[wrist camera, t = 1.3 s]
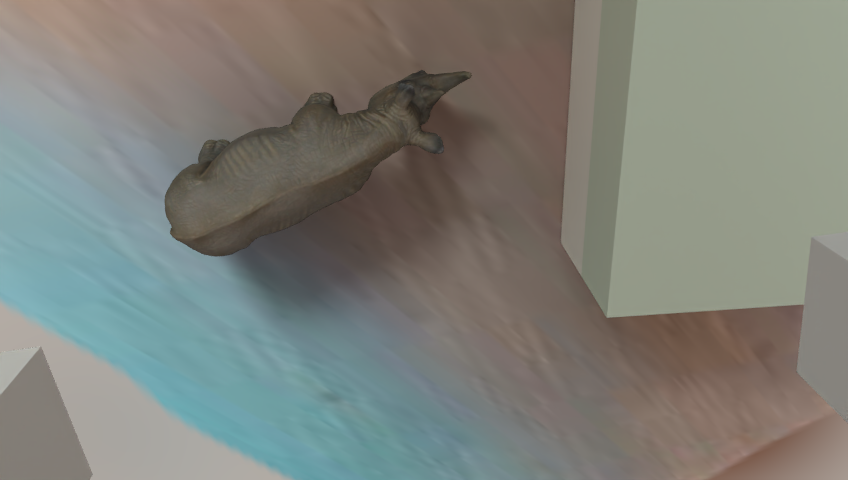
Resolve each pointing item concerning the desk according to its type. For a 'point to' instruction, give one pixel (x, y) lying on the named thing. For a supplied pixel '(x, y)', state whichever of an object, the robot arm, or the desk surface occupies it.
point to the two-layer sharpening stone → (704, 150)
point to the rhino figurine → (298, 165)
